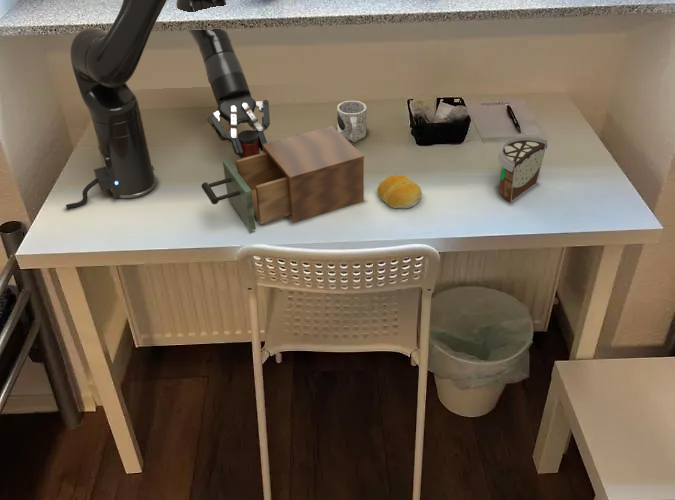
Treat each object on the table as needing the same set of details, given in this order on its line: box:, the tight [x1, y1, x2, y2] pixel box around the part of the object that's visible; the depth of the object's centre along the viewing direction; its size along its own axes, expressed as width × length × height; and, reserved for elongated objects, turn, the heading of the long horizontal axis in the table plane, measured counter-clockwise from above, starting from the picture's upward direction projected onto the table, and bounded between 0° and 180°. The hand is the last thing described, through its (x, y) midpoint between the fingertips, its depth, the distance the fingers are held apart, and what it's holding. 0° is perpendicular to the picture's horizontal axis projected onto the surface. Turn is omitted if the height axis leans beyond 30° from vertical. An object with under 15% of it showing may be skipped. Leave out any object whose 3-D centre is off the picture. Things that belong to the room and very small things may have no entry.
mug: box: [336, 100, 367, 143], centre depth 160 cm, size 10×7×7 cm, turn 4°
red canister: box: [237, 129, 261, 159], centre depth 152 cm, size 4×4×7 cm
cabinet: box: [262, 125, 365, 224], centre depth 141 cm, size 16×14×11 cm
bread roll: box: [376, 173, 422, 209], centre depth 142 cm, size 8×9×4 cm
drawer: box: [201, 152, 291, 231], centre depth 137 cm, size 20×12×9 cm, turn 117°
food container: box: [497, 136, 548, 204], centre depth 142 cm, size 12×6×10 cm, turn 135°
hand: (252, 152), depth 150 cm, fingers closed on red canister, 4 cm apart
